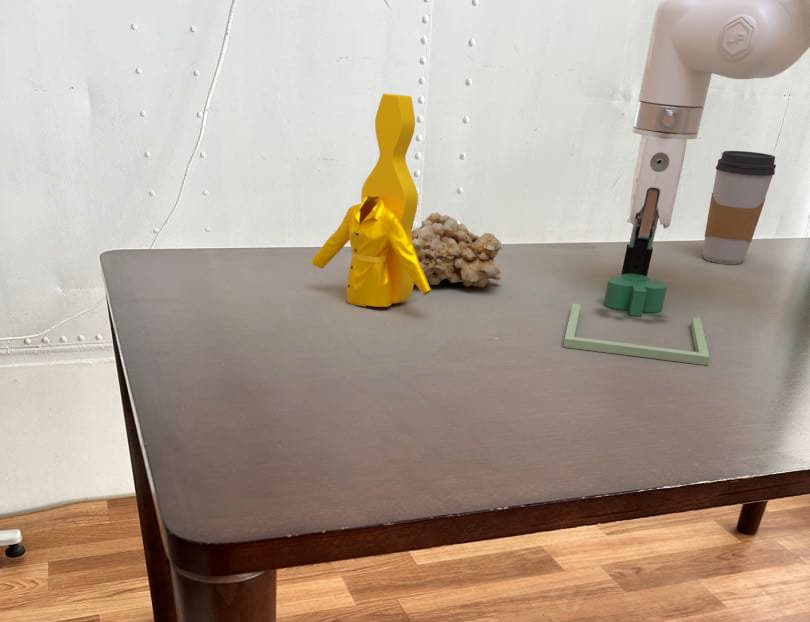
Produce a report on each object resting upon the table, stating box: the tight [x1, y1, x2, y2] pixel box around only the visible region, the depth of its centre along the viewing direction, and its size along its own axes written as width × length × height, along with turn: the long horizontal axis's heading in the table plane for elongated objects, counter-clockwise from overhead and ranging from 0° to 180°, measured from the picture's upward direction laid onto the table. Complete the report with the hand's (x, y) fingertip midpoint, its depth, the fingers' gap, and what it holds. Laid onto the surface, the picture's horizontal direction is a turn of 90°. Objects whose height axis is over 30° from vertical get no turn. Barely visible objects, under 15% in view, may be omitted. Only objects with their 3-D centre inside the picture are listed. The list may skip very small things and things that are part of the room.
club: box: [603, 274, 668, 317], centre depth 102 cm, size 8×7×3 cm
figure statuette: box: [310, 93, 432, 308], centre depth 92 cm, size 18×8×22 cm, turn 53°
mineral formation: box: [412, 212, 503, 288], centre depth 107 cm, size 8×13×15 cm
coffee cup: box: [701, 150, 777, 265], centre depth 123 cm, size 8×8×15 cm
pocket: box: [562, 303, 710, 366], centre depth 92 cm, size 14×15×1 cm
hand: (633, 278), depth 106 cm, fingers closed
